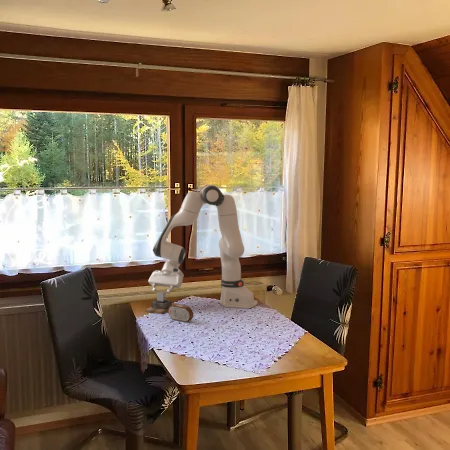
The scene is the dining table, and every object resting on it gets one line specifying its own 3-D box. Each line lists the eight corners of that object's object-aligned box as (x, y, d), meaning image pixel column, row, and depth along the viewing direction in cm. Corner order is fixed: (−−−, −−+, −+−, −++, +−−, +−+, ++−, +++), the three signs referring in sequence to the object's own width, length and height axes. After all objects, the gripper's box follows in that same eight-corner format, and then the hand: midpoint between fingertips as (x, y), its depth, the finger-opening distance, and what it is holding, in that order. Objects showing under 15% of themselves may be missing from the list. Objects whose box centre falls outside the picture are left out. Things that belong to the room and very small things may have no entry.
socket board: (177, 305, 284) (177, 298, 283) (162, 314, 268) (162, 306, 268) (161, 303, 288) (161, 296, 288) (145, 311, 273) (145, 304, 272)
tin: (193, 322, 255) (193, 306, 254) (190, 323, 252) (189, 308, 251) (171, 317, 263) (170, 302, 262) (167, 319, 260) (167, 303, 259)
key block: (166, 306, 279) (165, 291, 278) (163, 307, 276) (163, 293, 275) (160, 305, 280) (159, 291, 279) (157, 306, 278) (156, 292, 277)
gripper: (151, 267, 286) (142, 287, 278) (182, 270, 278) (174, 291, 270) (156, 273, 291) (147, 293, 283) (186, 276, 282) (178, 296, 275)
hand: (160, 292), depth 276 cm, fingers open, 8 cm apart
